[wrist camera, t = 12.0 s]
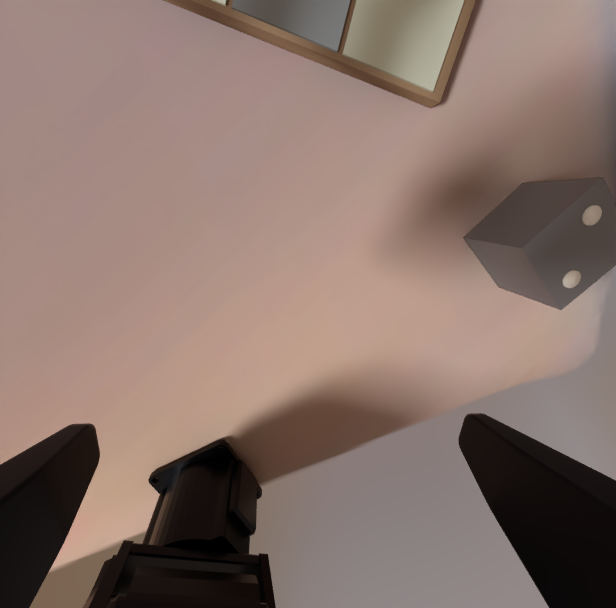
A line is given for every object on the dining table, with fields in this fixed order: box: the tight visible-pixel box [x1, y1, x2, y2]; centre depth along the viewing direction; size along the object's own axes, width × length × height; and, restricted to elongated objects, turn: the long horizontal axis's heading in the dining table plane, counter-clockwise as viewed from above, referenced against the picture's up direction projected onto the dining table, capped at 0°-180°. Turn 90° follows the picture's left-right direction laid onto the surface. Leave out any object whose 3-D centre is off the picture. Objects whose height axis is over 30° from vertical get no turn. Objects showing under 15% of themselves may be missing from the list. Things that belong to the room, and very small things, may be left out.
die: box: [463, 177, 616, 310], centre depth 18 cm, size 5×5×5 cm
